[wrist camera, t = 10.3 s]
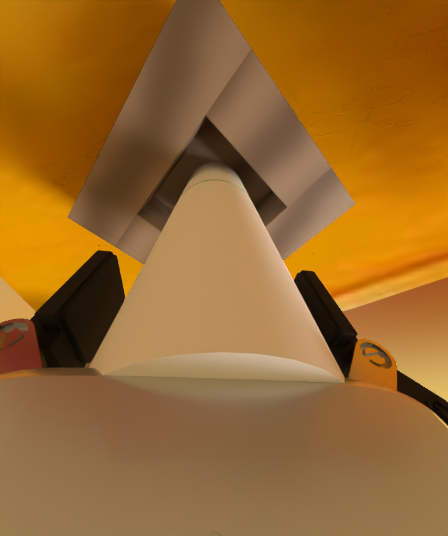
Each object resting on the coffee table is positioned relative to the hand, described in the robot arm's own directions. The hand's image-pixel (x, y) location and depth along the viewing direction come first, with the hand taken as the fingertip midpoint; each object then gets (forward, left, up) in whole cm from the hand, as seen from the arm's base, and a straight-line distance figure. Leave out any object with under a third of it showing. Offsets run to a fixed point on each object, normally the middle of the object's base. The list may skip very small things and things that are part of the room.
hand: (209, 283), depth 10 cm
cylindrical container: (0, 0, -19) cm, 19 cm away
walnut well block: (0, 0, -20) cm, 20 cm away
